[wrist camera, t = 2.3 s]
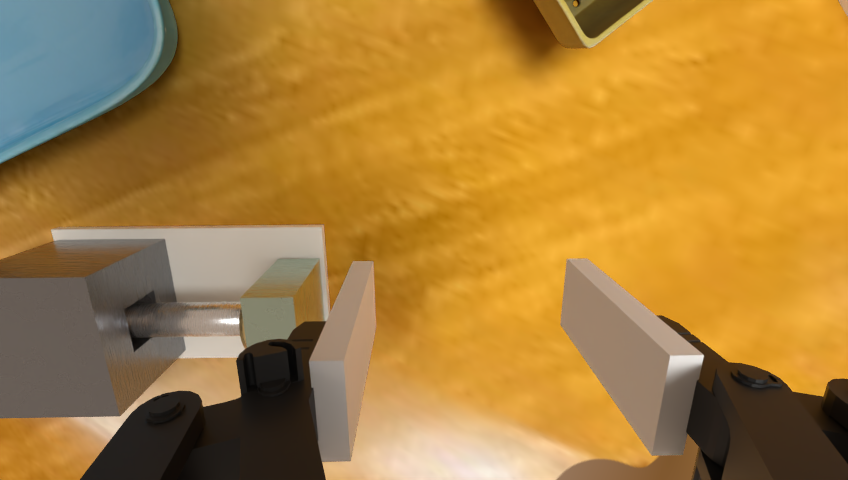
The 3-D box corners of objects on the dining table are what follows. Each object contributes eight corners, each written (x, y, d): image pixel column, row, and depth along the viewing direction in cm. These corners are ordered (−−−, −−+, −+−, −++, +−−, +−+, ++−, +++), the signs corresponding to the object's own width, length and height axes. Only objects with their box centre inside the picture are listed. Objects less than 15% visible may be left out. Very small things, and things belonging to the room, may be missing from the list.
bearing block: (164, 238, 40) (84, 277, 30) (186, 349, 43) (119, 416, 33) (58, 239, 39) (-56, 278, 30) (88, 350, 43) (-7, 418, 33)
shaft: (319, 258, 40) (293, 297, 31) (325, 332, 42) (302, 388, 34) (133, 260, 40) (55, 300, 31) (150, 335, 42) (81, 391, 33)
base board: (323, 224, 41) (321, 227, 40) (333, 350, 44) (331, 355, 44) (59, 226, 40) (50, 229, 39) (92, 354, 44) (85, 359, 43)
